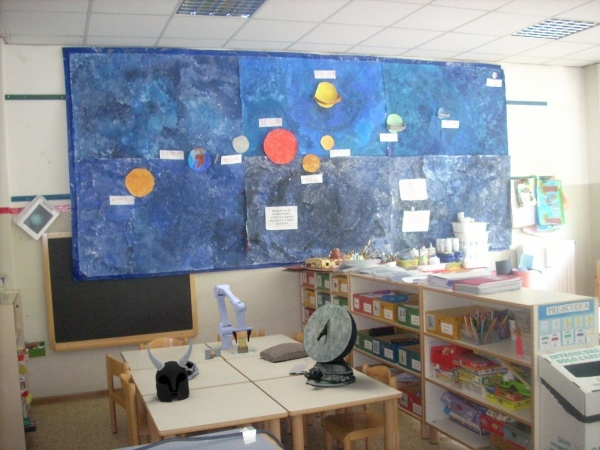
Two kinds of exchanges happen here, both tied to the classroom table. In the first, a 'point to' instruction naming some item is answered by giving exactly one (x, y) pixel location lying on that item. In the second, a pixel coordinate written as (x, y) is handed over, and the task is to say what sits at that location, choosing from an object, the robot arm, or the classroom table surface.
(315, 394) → the classroom table surface
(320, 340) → the sundial
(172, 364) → the helmet
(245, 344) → the brick
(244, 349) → the base block
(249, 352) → the build plate
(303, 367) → the figurine
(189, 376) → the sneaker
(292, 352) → the stone tablet
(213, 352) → the tile
